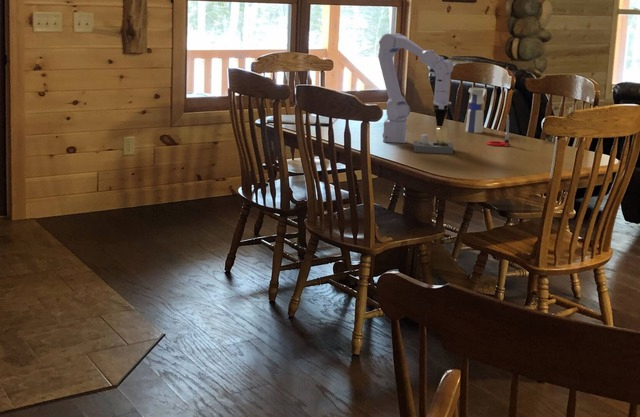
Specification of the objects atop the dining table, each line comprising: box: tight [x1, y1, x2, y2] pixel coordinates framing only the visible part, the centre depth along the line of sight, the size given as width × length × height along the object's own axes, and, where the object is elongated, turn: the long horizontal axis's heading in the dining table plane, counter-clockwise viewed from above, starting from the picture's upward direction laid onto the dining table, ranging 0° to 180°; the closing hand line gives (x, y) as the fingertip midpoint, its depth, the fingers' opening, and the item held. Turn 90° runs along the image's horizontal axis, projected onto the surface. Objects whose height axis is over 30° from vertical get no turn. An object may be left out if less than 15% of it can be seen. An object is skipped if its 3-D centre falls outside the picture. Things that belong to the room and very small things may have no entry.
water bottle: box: [465, 76, 488, 134], centre depth 389 cm, size 8×9×25 cm
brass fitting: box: [434, 126, 448, 146], centre depth 342 cm, size 4×4×9 cm
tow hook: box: [485, 114, 510, 147], centre depth 360 cm, size 8×13×9 cm
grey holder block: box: [413, 134, 454, 155], centre depth 343 cm, size 15×11×6 cm
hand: (439, 124), depth 348 cm, fingers open, 7 cm apart
